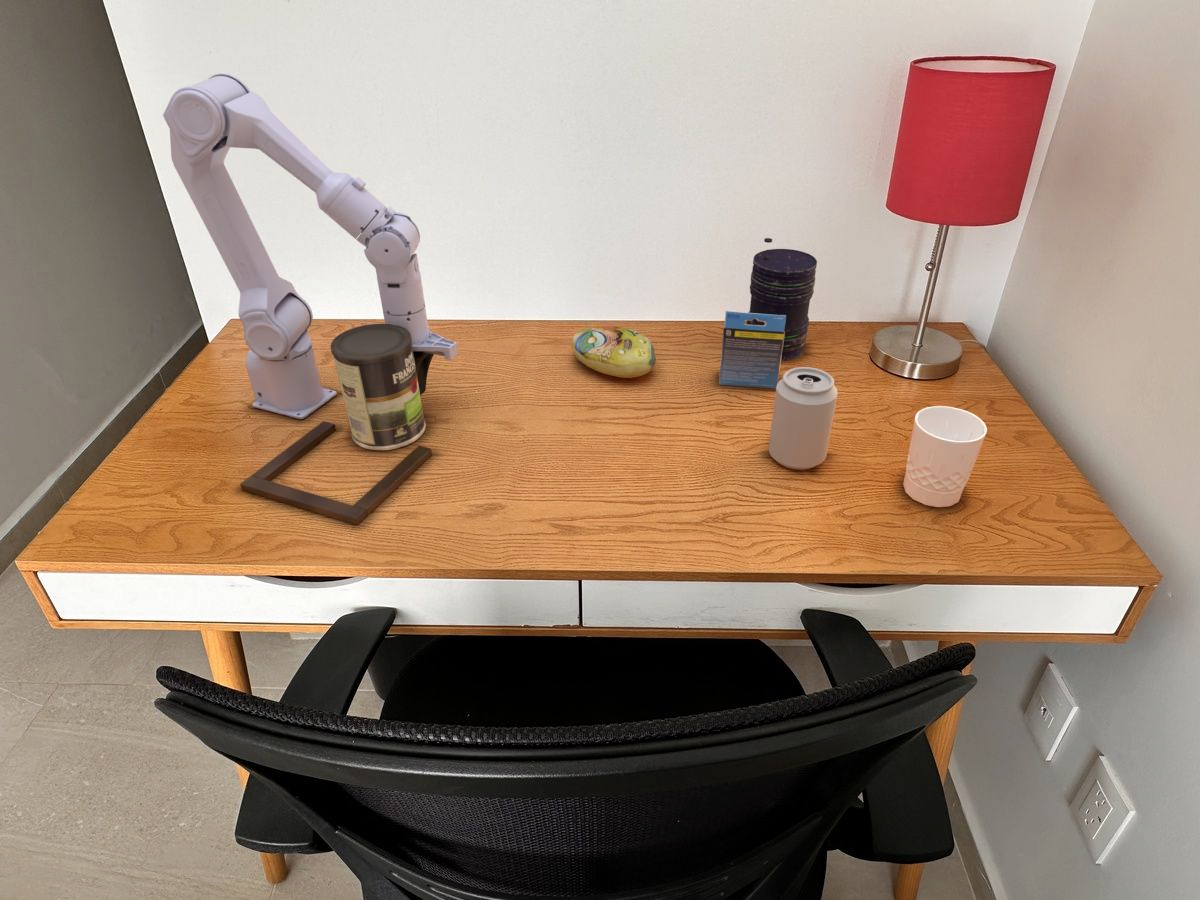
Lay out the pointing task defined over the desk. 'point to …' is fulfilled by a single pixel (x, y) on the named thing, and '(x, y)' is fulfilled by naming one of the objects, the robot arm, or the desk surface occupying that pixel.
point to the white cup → (942, 454)
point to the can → (802, 418)
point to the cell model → (614, 351)
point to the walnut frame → (322, 505)
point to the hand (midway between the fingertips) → (418, 393)
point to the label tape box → (751, 350)
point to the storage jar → (784, 293)
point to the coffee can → (379, 385)
